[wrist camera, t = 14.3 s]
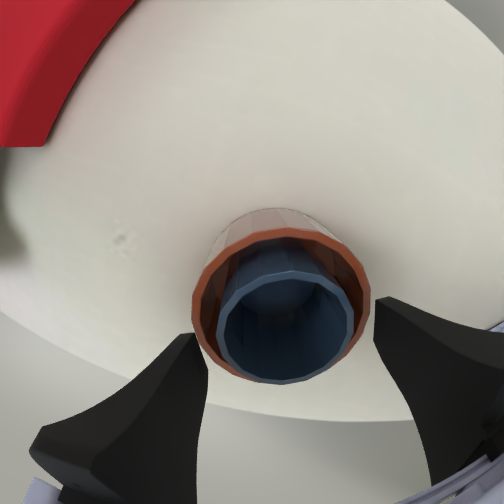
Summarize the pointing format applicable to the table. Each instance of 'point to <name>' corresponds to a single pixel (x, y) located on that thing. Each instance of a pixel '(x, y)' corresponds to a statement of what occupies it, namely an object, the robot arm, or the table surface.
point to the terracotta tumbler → (266, 228)
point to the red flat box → (45, 59)
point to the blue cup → (282, 313)
